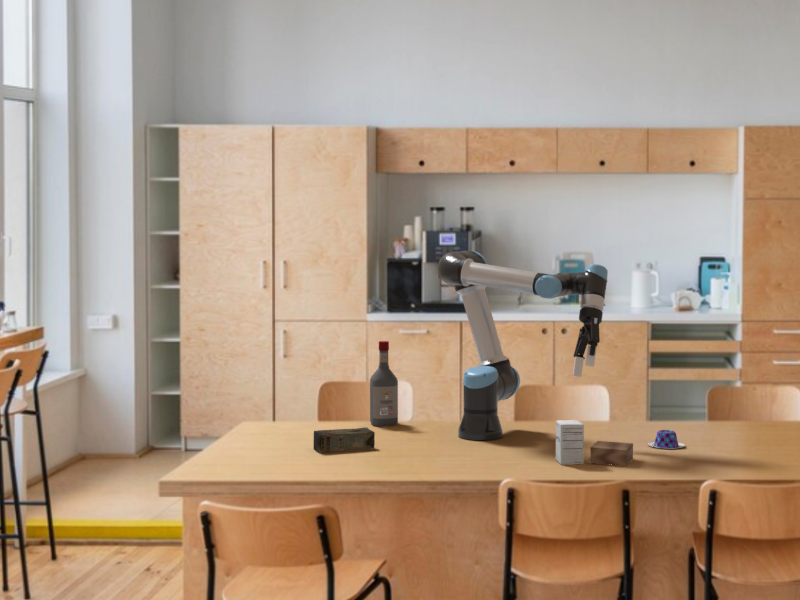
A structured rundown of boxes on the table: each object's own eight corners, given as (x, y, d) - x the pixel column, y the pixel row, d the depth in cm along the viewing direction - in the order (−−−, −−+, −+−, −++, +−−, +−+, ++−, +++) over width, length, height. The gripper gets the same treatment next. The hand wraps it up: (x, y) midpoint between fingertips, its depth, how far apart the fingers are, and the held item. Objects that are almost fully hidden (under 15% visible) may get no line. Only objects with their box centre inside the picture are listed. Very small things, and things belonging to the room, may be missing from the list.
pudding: (663, 452, 396) (664, 435, 396) (640, 445, 407) (640, 429, 406) (692, 448, 401) (693, 432, 401) (668, 442, 412) (668, 426, 412)
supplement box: (554, 460, 383) (555, 419, 381) (578, 459, 383) (578, 419, 382) (559, 465, 375) (560, 424, 374) (583, 464, 376) (584, 423, 375)
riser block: (590, 463, 377) (590, 447, 377) (597, 456, 388) (598, 440, 387) (626, 466, 373) (626, 450, 373) (632, 459, 384) (633, 443, 383)
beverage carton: (375, 449, 400) (375, 429, 399) (319, 454, 393) (319, 434, 392) (367, 445, 407) (367, 425, 407) (312, 449, 400) (311, 429, 400)
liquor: (398, 426, 440) (398, 342, 438) (373, 427, 438) (373, 343, 436) (393, 421, 449) (393, 339, 447) (369, 422, 447) (368, 340, 445)
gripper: (614, 301, 395) (606, 363, 388) (590, 323, 418) (582, 382, 411) (592, 296, 394) (583, 358, 387) (569, 318, 417) (561, 377, 410)
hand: (583, 371), depth 399 cm, fingers open, 13 cm apart
